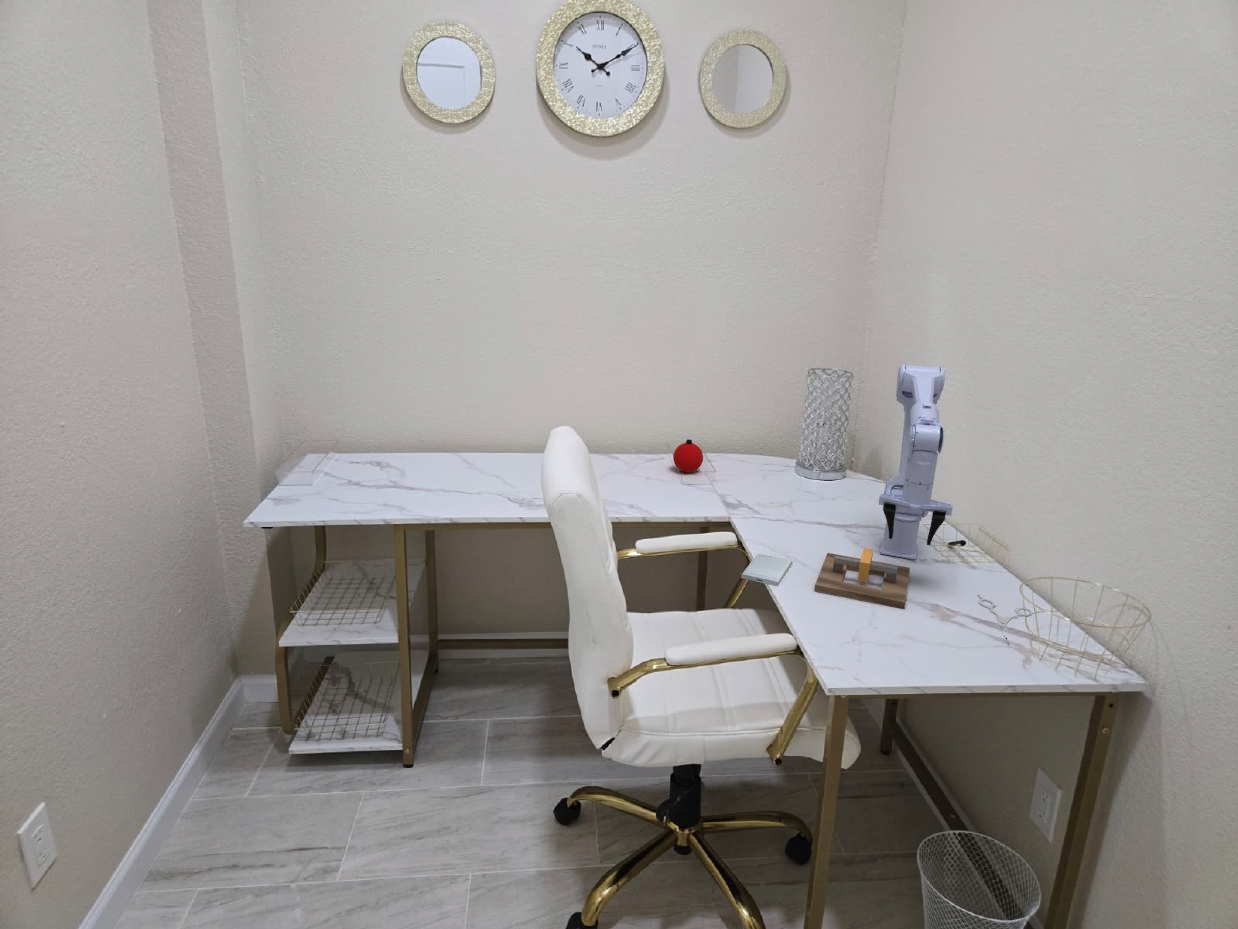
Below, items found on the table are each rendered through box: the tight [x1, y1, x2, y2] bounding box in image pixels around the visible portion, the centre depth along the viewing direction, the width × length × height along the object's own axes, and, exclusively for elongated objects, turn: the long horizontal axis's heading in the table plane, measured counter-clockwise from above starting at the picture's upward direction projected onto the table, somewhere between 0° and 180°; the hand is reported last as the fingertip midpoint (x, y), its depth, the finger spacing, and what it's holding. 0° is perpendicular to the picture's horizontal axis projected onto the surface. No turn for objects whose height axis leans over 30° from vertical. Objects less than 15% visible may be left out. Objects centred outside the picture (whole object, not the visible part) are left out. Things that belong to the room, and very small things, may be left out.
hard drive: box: [740, 553, 793, 587], centre depth 175 cm, size 2×8×12 cm
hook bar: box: [833, 556, 898, 584], centre depth 170 cm, size 2×13×3 cm, turn 68°
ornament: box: [672, 438, 704, 473], centre depth 238 cm, size 9×9×10 cm
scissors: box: [976, 593, 1034, 631], centre depth 157 cm, size 11×1×20 cm
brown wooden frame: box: [814, 552, 911, 610], centre depth 171 cm, size 18×18×2 cm
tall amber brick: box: [857, 547, 874, 583], centre depth 170 cm, size 8×2×4 cm, turn 158°
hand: (909, 540), depth 170 cm, fingers open, 7 cm apart
